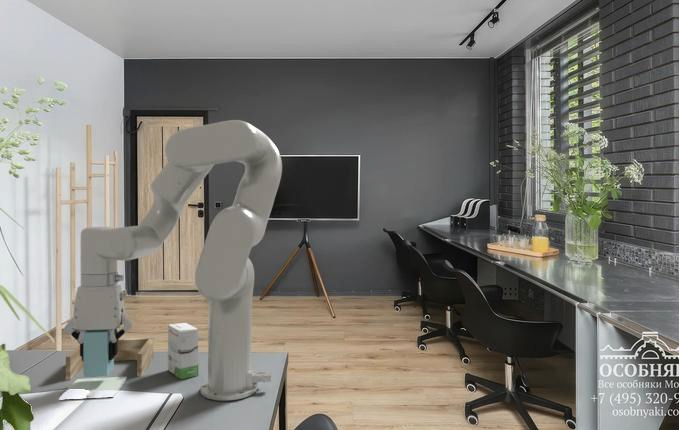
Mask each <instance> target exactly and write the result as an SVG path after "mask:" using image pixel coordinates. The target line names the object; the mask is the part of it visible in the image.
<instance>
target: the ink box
mask: <svg viewBox="0 0 679 430" xmlns="http://www.w3.org/2000/svg"><path fill="white" fill-rule="evenodd" d="M167 326H168V327H167V342H168V343H167V354H168V355H167V363H168V364H167V367H168V368H167V370H168V371H169V372H170V373H172V374H173V375H174V376H175V377H176V378H178V379H179V380H184V379H188V378H193V377H197V376H199V328H197V327H195V326H193V325H191V324H189V323H187V322H181V323H170V324H168V325H167Z"/></svg>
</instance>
